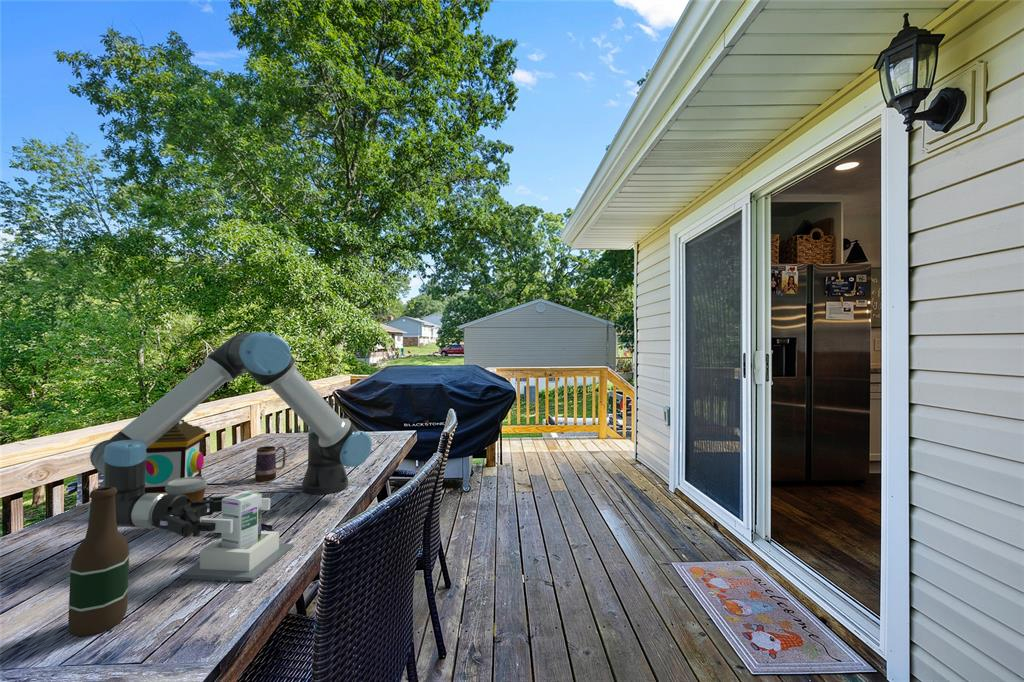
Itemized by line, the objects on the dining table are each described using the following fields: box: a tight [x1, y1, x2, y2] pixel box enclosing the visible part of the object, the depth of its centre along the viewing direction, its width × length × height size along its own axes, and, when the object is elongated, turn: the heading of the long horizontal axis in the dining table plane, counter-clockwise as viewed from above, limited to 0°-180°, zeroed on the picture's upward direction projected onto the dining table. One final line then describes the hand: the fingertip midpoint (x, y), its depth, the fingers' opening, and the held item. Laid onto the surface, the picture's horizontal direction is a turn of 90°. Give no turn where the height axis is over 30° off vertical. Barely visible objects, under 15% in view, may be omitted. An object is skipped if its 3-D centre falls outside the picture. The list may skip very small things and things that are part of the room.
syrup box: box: [220, 490, 263, 549], centre depth 103 cm, size 6×6×14 cm
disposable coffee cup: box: [165, 476, 208, 521], centre depth 124 cm, size 10×10×12 cm
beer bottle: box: [67, 486, 130, 638], centre depth 80 cm, size 8×8×24 cm
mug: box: [254, 444, 287, 483], centre depth 167 cm, size 10×7×12 cm
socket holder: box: [179, 531, 295, 582], centre depth 103 cm, size 16×16×5 cm
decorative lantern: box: [145, 419, 207, 494], centre depth 141 cm, size 20×20×30 cm
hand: (252, 514), depth 103 cm, fingers open, 13 cm apart
